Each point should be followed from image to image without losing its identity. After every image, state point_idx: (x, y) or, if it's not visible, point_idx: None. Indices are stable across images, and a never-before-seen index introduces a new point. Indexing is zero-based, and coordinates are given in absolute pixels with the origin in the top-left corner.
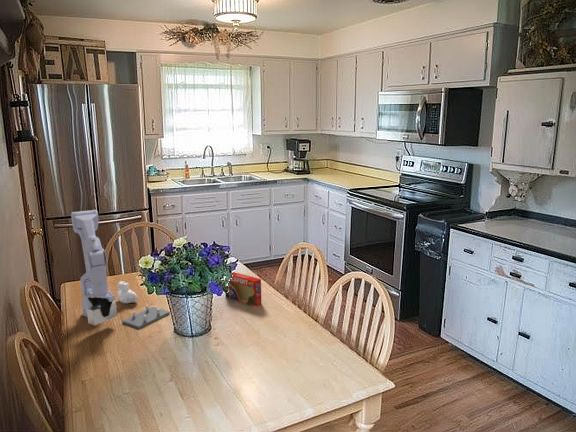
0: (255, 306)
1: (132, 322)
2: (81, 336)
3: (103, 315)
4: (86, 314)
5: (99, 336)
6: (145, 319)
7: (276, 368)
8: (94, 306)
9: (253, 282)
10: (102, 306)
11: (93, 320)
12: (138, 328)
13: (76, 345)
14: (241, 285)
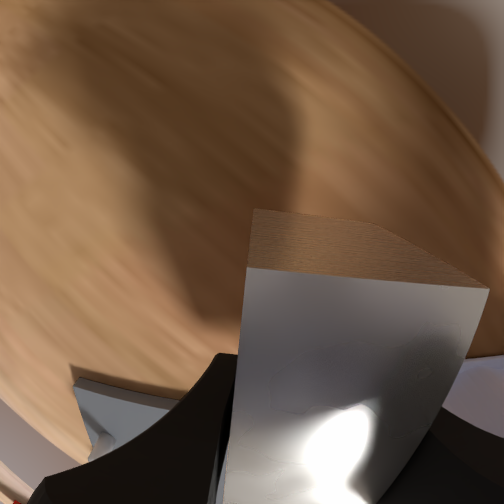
0: (15, 500)
1: (148, 417)
2: (349, 133)
3: (227, 361)
4: (500, 366)
5: (208, 194)
6: (96, 443)
7: None
8: (399, 421)
9: None
10: (129, 454)
11: (270, 219)
12: (83, 379)
13: (255, 19)
14: None
